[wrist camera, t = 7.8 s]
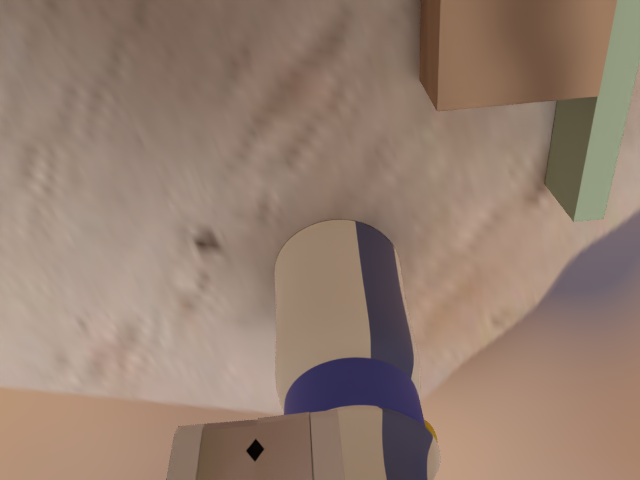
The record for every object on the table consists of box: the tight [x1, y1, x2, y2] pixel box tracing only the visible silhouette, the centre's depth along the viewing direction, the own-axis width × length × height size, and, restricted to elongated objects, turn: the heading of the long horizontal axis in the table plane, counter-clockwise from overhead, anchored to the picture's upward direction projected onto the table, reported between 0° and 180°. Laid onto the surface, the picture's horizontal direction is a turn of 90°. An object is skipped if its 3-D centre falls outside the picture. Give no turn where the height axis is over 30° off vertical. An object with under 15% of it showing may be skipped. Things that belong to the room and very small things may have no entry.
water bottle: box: [275, 220, 440, 480], centre depth 24 cm, size 8×9×25 cm
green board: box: [545, 0, 640, 222], centre depth 24 cm, size 2×20×4 cm, turn 5°
